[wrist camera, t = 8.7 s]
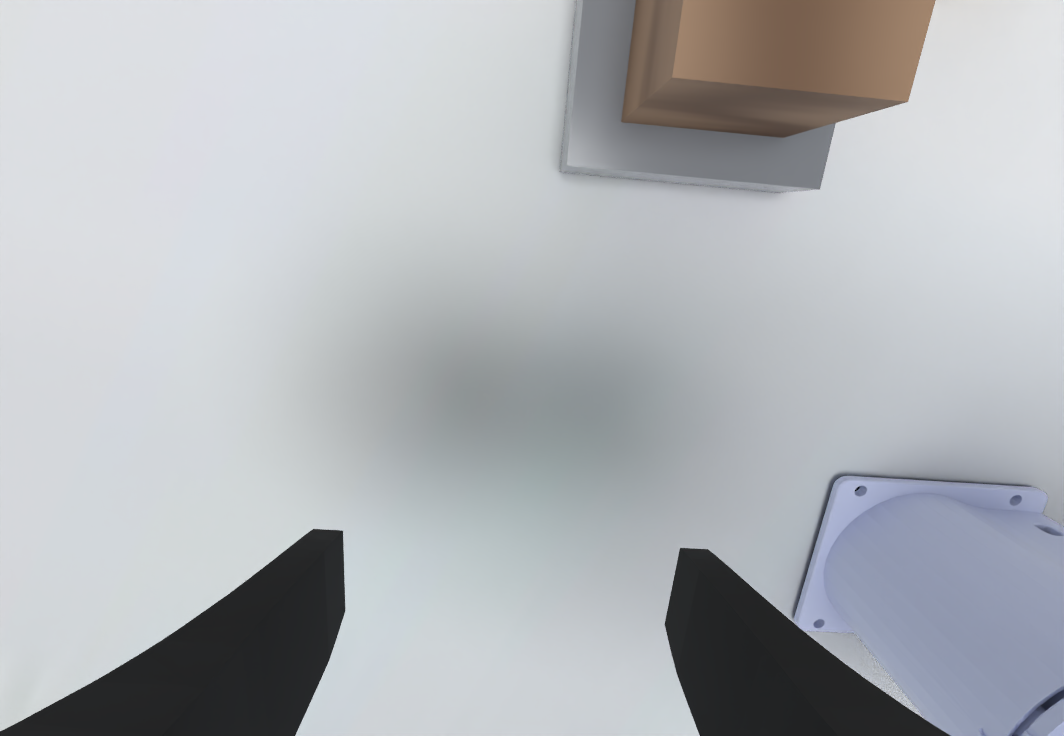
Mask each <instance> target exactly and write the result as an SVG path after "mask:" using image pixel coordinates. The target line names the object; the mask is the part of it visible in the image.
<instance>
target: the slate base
mask: <svg viewBox="0 0 1064 736" xmlns="http://www.w3.org/2000/svg"><path fill="white" fill-rule="evenodd" d="M635 4H636V0H576V5H575V16H574V27H573V37H572V48H571V58H570V69H569V79H568V90H567V100H566V111H565V122H564V132H563V143H562V153H561V164H560V172H564V173H574V174H585V175H595V176H606V177H617V178H627V179H638V180H648V181H659V182H669V183H680V184H691V185H701V186H712V187H722V188H733V189H743V190H754V191H764V192H775V193H783V192H795V191H807V190H818V189H820V186H821V182H822V178H823V174H824V169H825V165H826V161H827V157H828V153H829V148H830V144H831V140H832V136H833V132H834V128H835V123H833V124H829V125H826V126H822V127H819V128H816V129H812V130H809V131H805V132H802V133H798V134H795V135H791V136H788V137H785V138H779V137H769V136H759V135H748V134H738V133H728V132H717V131H707V130H697V129H687V128H676V127H666V126H656V125H645V124H635V123H625V122H621V119H622V111H623V103H624V95H625V86H626V78H627V70H628V62H629V53H630V45H631V37H632V29H633V21H634V12H635Z"/></svg>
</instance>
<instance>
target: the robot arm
mask: <svg viewBox="0 0 1064 736" xmlns="http://www.w3.org/2000/svg"><path fill="white" fill-rule="evenodd" d="M859 486H861V487H860V488H859V490H857V491H855V489H856V488H857V487H859ZM1047 500H1048V496H1047V494H1046V493H1045V492H1044V491H1042V490H1040V489H1038V488H1035V487H1022V486H1006V485H990V484H973V483H957V482H941V481H924V480H908V479H892V478H875V477H859V476H843V477H840V478H838V479H837V480H836V481H835V483H834V485H833V488H832V491H831V494H830V498H829V501H828V505H827V508H826V511H825V515H824V518H823V522H822V525H821V528H820V532H819V535H818V538H817V542H816V545H815V549H814V552H813V555H812V559H811V562H810V566H809V569H808V572H807V576H806V579H805V583H804V586H803V589H802V593H801V596H800V600H799V603H798V606H797V610H796V613H795V616H794V621H795V623H796V624H797V626H796V625H795V624H794V623H793V622H792V621H790V620H789V619H788V618H787V617H786V616H784V615H783V614H782V613H781V612H780V611H779V610H777V609H776V608H775V607H774V606H773V605H772V604H770V603H769V602H768V601H767V600H766V599H765V598H763V597H762V596H761V595H760V594H759V593H758V592H757V591H755V590H754V589H753V588H752V587H751V586H750V585H749V584H748V583H746V582H745V581H744V580H743V579H742V578H741V577H740V576H738V575H737V574H736V573H735V572H734V571H733V570H732V569H731V568H729V567H728V566H727V565H726V564H725V563H724V562H722V561H721V560H720V559H719V558H718V557H717V556H715V555H714V554H713V553H712V552H710V551H709V550H708V549H690V548H680V551H679V556H678V561H677V566H676V571H675V576H674V581H673V586H672V591H671V596H670V601H669V606H668V611H667V616H666V621H665V627H666V631H667V636H668V640H669V644H670V649H671V653H672V657H673V660H674V664H675V668H676V672H677V675H678V678H679V681H680V683H681V686H682V689H683V692H684V694H685V697H686V700H687V703H688V705H689V708H690V711H691V713H692V716H693V719H694V721H695V724H696V727H697V729H698V732H699V735H700V736H1064V526H1063V525H1061V524H1059V523H1057V522H1056V521H1054V520H1052V519H1050V518H1048V517H1047V516H1045V515H1043V514H1042V513H1043V510H1044V508H1045V506H1046V503H1047ZM344 613H345V587H344V554H343V531H340V530H320V529H313V530H311V531H310V532H309V533H307V534H306V535H305V536H303V537H302V538H301V539H300V540H298V541H297V542H296V543H294V544H293V545H292V546H291V547H289V548H288V549H287V550H286V551H284V552H283V553H282V554H280V555H279V556H278V557H277V558H275V559H274V560H273V561H272V562H270V563H269V564H268V565H266V566H265V567H264V568H263V569H261V570H260V571H259V572H257V573H256V574H255V575H253V576H252V577H251V578H249V579H248V580H247V581H246V582H244V583H243V584H242V585H240V586H239V587H238V588H236V589H235V590H234V591H232V592H231V593H230V594H228V595H227V596H225V597H224V598H223V599H221V600H220V601H218V602H217V603H215V604H214V605H213V606H211V607H210V608H208V609H207V610H206V611H204V612H203V613H201V614H200V615H198V616H197V617H196V618H194V619H193V620H191V621H190V622H188V623H187V624H186V625H184V626H183V627H181V628H180V629H178V630H177V631H175V632H174V633H172V634H171V635H169V636H168V637H166V638H165V639H163V640H162V641H160V642H159V643H157V644H155V645H154V646H152V647H151V648H149V649H148V650H146V651H144V652H143V653H141V654H139V655H138V656H136V657H134V658H133V659H131V660H129V661H128V662H126V663H125V664H123V665H121V666H120V667H118V668H116V669H115V670H113V671H111V672H110V673H108V674H106V675H104V676H103V677H101V678H99V679H98V680H96V681H94V682H92V683H90V684H89V685H87V686H85V687H83V688H81V689H79V690H78V691H76V692H74V693H72V694H70V695H68V696H66V697H65V698H63V699H61V700H59V701H57V702H55V703H53V704H52V705H50V706H48V707H46V708H44V709H42V710H40V711H39V712H37V713H35V714H33V715H31V716H29V717H28V718H26V719H24V720H22V721H20V722H18V723H16V724H14V725H12V726H10V727H8V728H7V729H5V730H3V731H1V732H0V736H295V735H296V732H297V730H298V728H299V726H300V724H301V721H302V719H303V717H304V715H305V713H306V711H307V708H308V706H309V704H310V702H311V700H312V697H313V695H314V693H315V691H316V688H317V686H318V684H319V682H320V680H321V677H322V675H323V673H324V671H325V668H326V666H327V664H328V662H329V659H330V656H331V653H332V650H333V647H334V644H335V641H336V638H337V635H338V632H339V629H340V626H341V622H342V619H343V616H344ZM816 620H817V621H816ZM802 630H804V631H819V632H842V633H855V634H856V635H857V636H858V638H859V639H860V640H861V641H862V642H863V644H864V645H865V646H866V647H867V649H868V650H869V651H870V652H871V653H872V655H873V656H874V657H875V658H876V660H877V661H878V662H879V663H880V664H881V666H882V667H883V668H884V669H885V671H886V672H887V673H888V674H889V675H890V677H891V678H892V679H893V680H894V682H895V683H896V684H897V685H898V687H899V688H900V689H901V690H902V691H903V693H904V694H905V695H906V696H907V698H908V699H909V700H910V701H911V702H912V704H913V705H914V706H915V707H916V709H917V710H918V711H919V712H920V713H921V715H922V716H923V717H924V718H925V719H923V718H922V717H920V716H919V715H917V714H916V713H914V712H913V711H911V710H910V709H908V708H907V707H905V706H904V705H902V704H901V703H899V702H898V701H896V700H895V699H894V698H892V697H891V696H889V695H888V694H886V693H885V692H883V691H882V690H881V689H879V688H878V687H876V686H875V685H873V684H872V683H870V682H869V681H868V680H866V679H865V678H863V677H862V676H861V675H859V674H858V673H857V672H855V671H854V670H852V669H851V668H850V667H848V666H847V665H846V664H844V663H843V662H842V661H840V660H839V659H838V658H837V657H835V656H834V655H833V654H831V653H830V652H829V651H828V650H826V649H825V648H824V647H823V646H821V645H820V644H819V643H817V642H816V641H815V640H814V639H812V638H811V637H810V636H809V635H807V634H806V633H805V632H804V631H802Z"/></svg>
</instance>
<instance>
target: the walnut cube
mask: <svg viewBox="0 0 1064 736" xmlns="http://www.w3.org/2000/svg"><path fill="white" fill-rule="evenodd" d="M934 4H935V0H636V4H635V12H634V21H633V29H632V37H631V45H630V53H629V62H628V70H627V78H626V86H625V95H624V103H623V111H622V119H621V122H625V123H635V124H645V125H656V126H666V127H676V128H687V129H697V130H707V131H717V132H728V133H738V134H748V135H759V136H769V137H779V138H785V137H788V136H791V135H795V134H798V133H802V132H805V131H809V130H812V129H816V128H819V127H822V126H826V125H829V124H833V123H836V122H840V121H843V120H847V119H850V118H854V117H857V116H860V115H864V114H867V113H871V112H874V111H878V110H881V109H885V108H888V107H892V106H895V105H898V104H902V103H905V102H908V100H909V96H910V92H911V88H912V85H913V81H914V77H915V74H916V70H917V66H918V63H919V59H920V55H921V52H922V48H923V44H924V41H925V37H926V33H927V30H928V26H929V22H930V18H931V15H932V11H933V7H934Z"/></svg>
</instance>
